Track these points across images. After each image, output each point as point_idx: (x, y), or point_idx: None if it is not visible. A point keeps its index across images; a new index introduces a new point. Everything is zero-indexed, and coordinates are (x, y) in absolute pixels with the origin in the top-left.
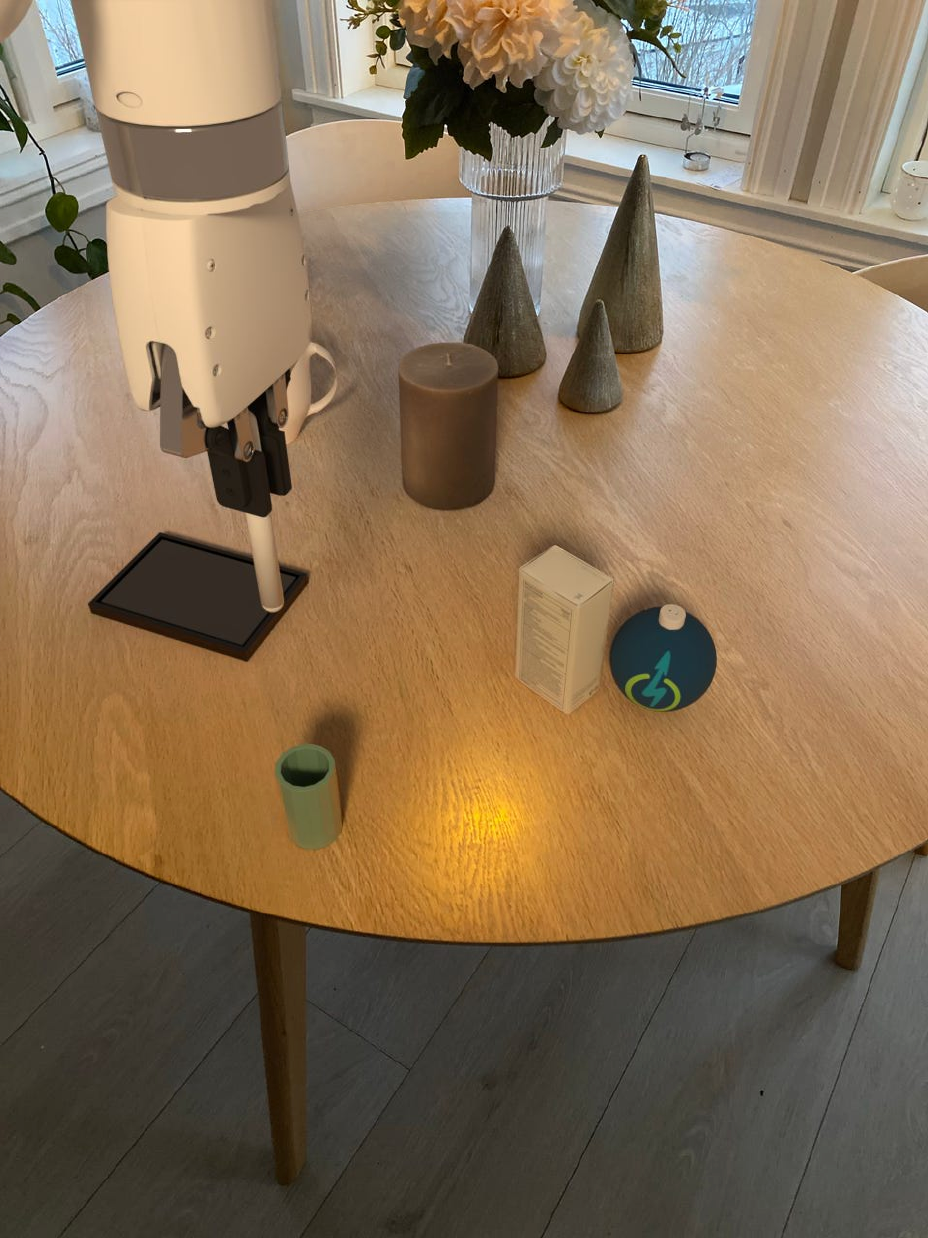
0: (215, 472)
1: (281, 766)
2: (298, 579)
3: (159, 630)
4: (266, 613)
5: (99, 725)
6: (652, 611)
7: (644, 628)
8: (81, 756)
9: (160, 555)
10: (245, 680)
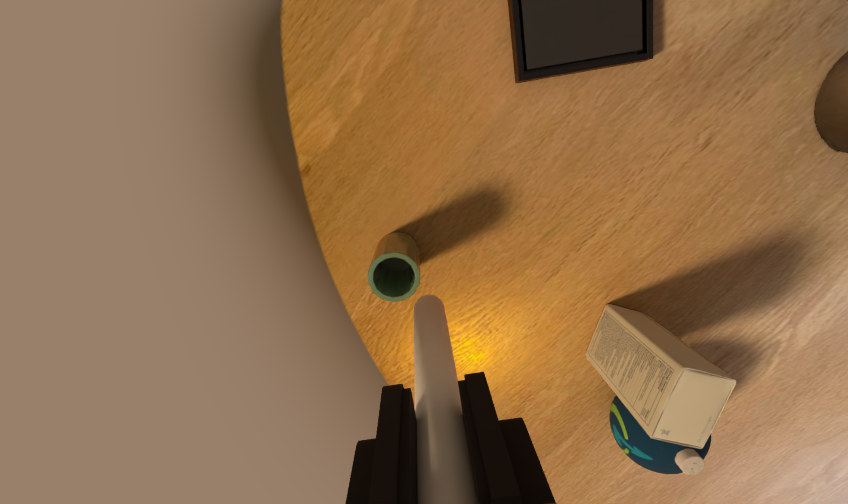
0: (347, 501)
1: (383, 259)
2: (639, 55)
3: None
4: (577, 60)
5: (377, 8)
6: None
7: None
8: (341, 24)
9: None
10: (495, 98)
